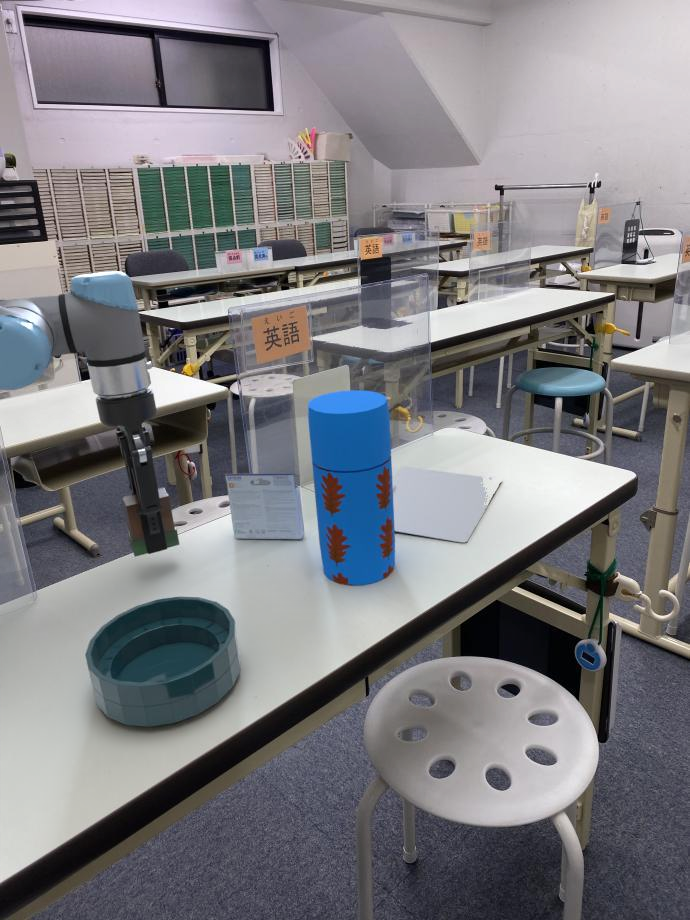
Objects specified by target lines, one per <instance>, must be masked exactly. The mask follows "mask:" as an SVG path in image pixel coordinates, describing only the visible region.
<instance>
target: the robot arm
mask: <svg viewBox="0 0 690 920" xmlns="http://www.w3.org/2000/svg"><path fill="white" fill-rule="evenodd" d="M137 302H138V301H137V298H136V294H135V290H134V286H133V281H132V279H131V277H130V276H129V275H128V274H126V273H125V272H123V271H99V272H92V273H84V274H78V275H75V276H72V278H71V279H70V288H69V292H65V293H60V294H55V295H44V296H34V297H23V298H14V299H3V298H2V299H0V390H3V391H16V390H20V389H23V388H24V389H25V388H26V387H28V386H30V385H32V384H33V383H35V382H36V381H37V380H38V379H39V378H40V377H41V376H42V375H43V374H44V373H45V371H46V370H47V369H48V368H49V366H50V363H51V360H52V357H58V356H65V355H70V354H71V355H74V354H78V353H84V354H85V356H86V362H87V368H88V373H89V374H88V375H89V379H90V383H91V388H92V392H93V393H94V394H95V395H97V396H96V398H95V405H96V409H97V413H98V417H99V421H100V423H101V424H103V425H104V426H107V427H114V428H116V429H115V430H116V432H115V435H116V440H117V443H118V445H119V447H120V448H119V449H120V453H121V456H122V459H123V461H124V466H125V469H126V471H125V472H126V475H127V479H128V480H127V481H128V489H129V490H130V491H131V495H134V494H137V496H138V500H139V505H140V510H137V511H135V512H136V515H137V516H138V515H140V517H141V522H142V527H143V532H144V537H145V542H146V547H147V551H148V553H147V555H151V554H154V553H158V552H159V553H160V552H163V551H165V550H168V548H167V544H166V539H165V534H164V529H163V524H162V519H161V513H160V511H162V505H161V503H160V498H159V492H158V489H159V488H158V481H157V476H156V471H155V465H154V457H153V448H152V447H151V442H152V441H151V436H150V432H149V431H148V430H147V429H146V427H145V426H143V424H144V423H145V422H146V421H150V420H151V419H153V418H155V417H156V415H157V412H158V411H157V405H156V400H155V395H154V390H153V389H152V388H151V387H150V386H151V384H152V381H151V380H152V379H151V375H150V372H149V371H148V370H151V369H153V367H154V366H153V363H152V361H148V359H147V352H146V347H145V340H144V335H143V329H142V324H141V317H140V311H139V305H138V303H137Z"/></svg>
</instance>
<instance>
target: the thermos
mask: <svg viewBox="0 0 690 920" xmlns="http://www.w3.org/2000/svg"><path fill="white" fill-rule="evenodd" d="M390 418H391V417H390V409H389V402H388V399H387V397H386V395H384V394H382V393H379V392H376V391H371V390H361V389H360V390H357V389H356V390H341V391H340V390H339V391H334V392H328V393H324V394H321V395H318V396H316V397H314V398H312V399H311V400H310V401H309V402H308V403H307V422H308V423H307V424H308V433H309V443H310V455H311V466H312V476H313V477H312V478H313V484H314V485H313V487H314V500H315V509H316V521H317V532H318V543H319V550H320V555H321V562H322V569H323V574H324V575H325V576H326V577H327V578H328V579H329V580H330V581H333V582H335V583H337V584H340V585H346V586H366V585H371V584H375V583H377V582H381V581H382V580H384V579H386V578H388V576H390V574H392V573H393V572H394V568H395V565H396V564H395V563H396V531H395V528H394V506H393V484H392V476H393V468H392V467H393V466H392V464H393V463H392V445H391V444H392V442H391V441H392V440H391V421H390Z"/></svg>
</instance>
